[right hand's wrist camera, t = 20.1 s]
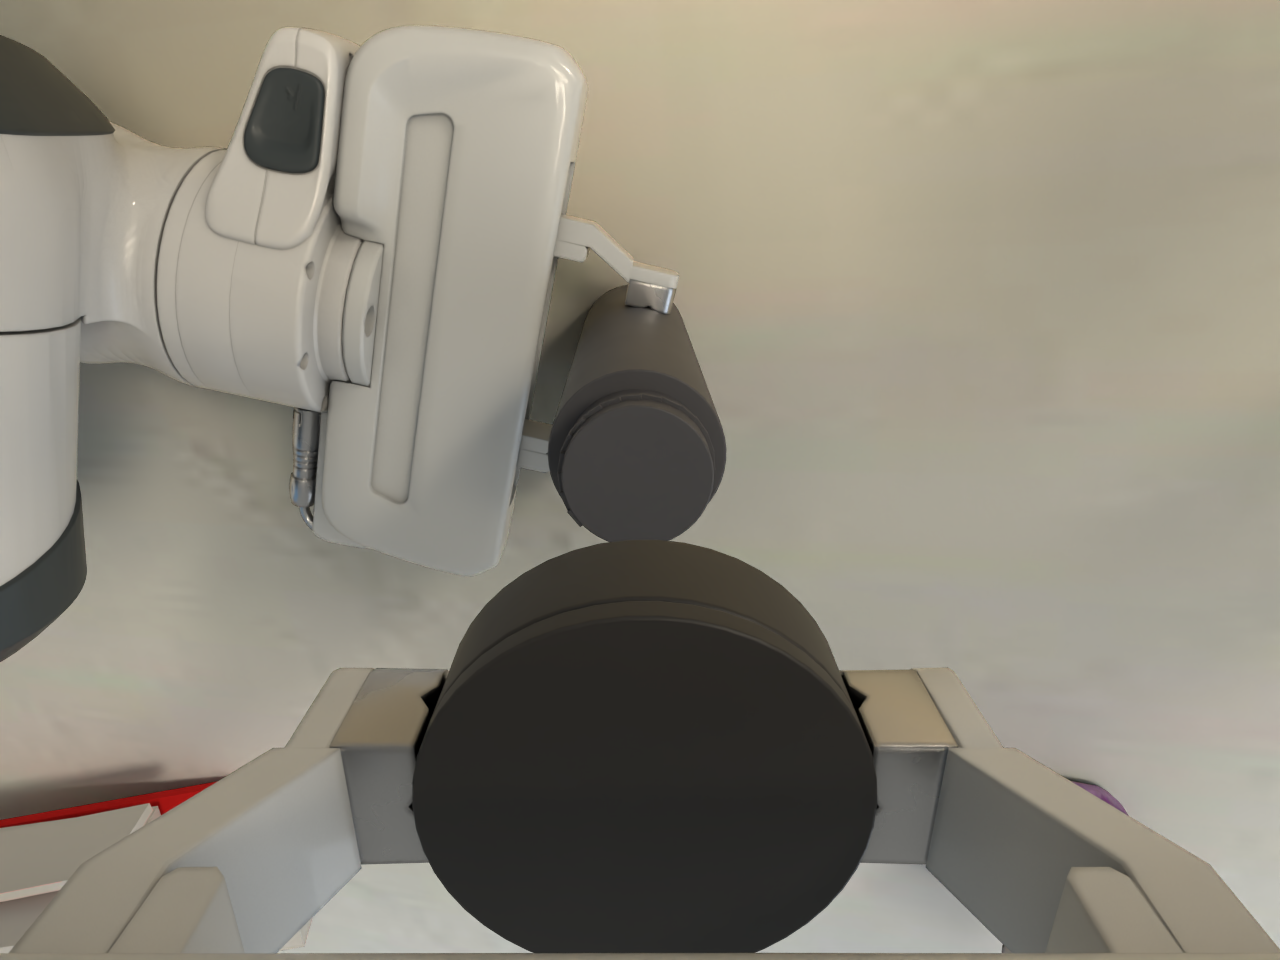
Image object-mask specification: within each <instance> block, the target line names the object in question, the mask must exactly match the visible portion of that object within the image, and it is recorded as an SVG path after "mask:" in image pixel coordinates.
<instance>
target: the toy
mask: <svg viewBox="0 0 1280 960" xmlns="http://www.w3.org/2000/svg"><path fill="white" fill-rule="evenodd" d="M217 782H218V781H217ZM214 783H216V782H211V783H206V784H200V785H195V786H189V787H183V788H178V789H172V790H166V791H161V792H155V793H150V794H144V795H138V796H133V797H127V798H122V799H116V800H110V801H105V802H99V803H93V804H88V805H82V806H77V807H71V808H65V809H60V810H54V811H49V812H43V813H37V814H32V815H26V816H21V817H15V818H9V819H4V820H0V953H9V952H10V951H11V949H12V948H13V947H14V946H15V944H16V943H17V942H18V941H19V940H20V938H21V937H22V936H23V935H24V933H25V932H26V931H27V930H28V929H29V927H30V926H31V925H32V924H33V922H34V921H35V920H36V919H37V917H38V916H39V915H40V914H41V913H42V911H43V910H44V909H45V908H46V906H47V905H48V904H49V903H50V902H51V900H52V899H53V898H54V897H55V895H56V894H57V893H58V892H59V891H60V889H61V888H62V887H63V886H64V884H65V883H66V882H67V881H68V879H69V878H70V877H71V876H72V875H73V873H74V872H75V871H76V870H77V868H78V867H79V866H80V865H81V864H82V863H83V862H85V861H86V860H88V859H90V858H91V857H93V856H95V855H96V854H98V853H100V852H101V851H103V850H105V849H106V848H108V847H110V846H111V845H113V844H115V843H116V842H118V841H120V840H121V839H123V838H125V837H126V836H128V835H130V834H131V833H133V832H135V831H136V830H138V829H140V828H141V827H143V826H145V825H146V824H148V823H149V822H151V821H153V820H154V819H156V818H158V817H159V816H161V815H163V814H164V813H166V812H168V811H169V810H171V809H173V808H174V807H176V806H178V805H179V804H181V803H183V802H184V801H186V800H188V799H189V798H191V797H193V796H194V795H196V794H198V793H199V792H201V791H203V790H204V789H206V788H208V787H209V786H211V785H213V784H214ZM311 921H312V918H311V919H310V920H309V921H308V922H307V923H306V924H305V925H304V926H303V927H302V928H301V929H300V930H299V931H298V932H297V933H296V934H295V935H294V936H293V937H292V938H291V939H290V940H289V941H288V942H287V943H286V944H285V945H284V946H283V947H282V948H281V949H280V950H279V951H281V950H287V949H293V948H299V947H304V946H305V942H306V939H307V935H308V932H309V928H310V925H311Z"/></svg>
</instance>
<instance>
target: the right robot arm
mask: <svg viewBox="0 0 1280 960" xmlns="http://www.w3.org/2000/svg"><path fill="white" fill-rule="evenodd" d="M839 672H840V674H841V677H842V679H843V682H844V684H845V687H846V689H847V692H848V694H849V697H850V699H851V702H852V704H853V707H854V709H855V712H856V714H857V717H858V719H859V722H860V724H861V727H862V729H863V732H864V734H865V737H866V740H867V742H868V745H869V747H870V750H871V752H872V756H873V761H874V766H875V771H876V776H877V798H878V801H877V808H876V816H875V823H874V828H873V831H872V834H871V837H870V840H869V844H868V847H867V849H866V851H865V853H864V855H863V857H862V859H861V861H860V863H895V864H926V868H927V869H928V870H929V871H930V872H931V873H932V874H933V875H934V876H935V877H936V878H937V879H938V880H939V881H940V882H941V883H942V884H943V885H944V886H945V887H946V888H947V889H948V890H949V891H950V892H951V893H952V894H953V895H954V896H955V897H956V898H957V899H958V900H959V901H960V902H961V903H962V904H963V905H964V906H965V907H966V908H967V909H968V910H969V911H970V912H971V913H972V914H973V915H974V916H975V917H976V918H977V919H978V920H979V921H980V922H981V923H982V924H983V925H984V926H985V927H986V928H987V929H988V930H989V931H990V932H991V933H992V934H993V935H994V936H995V937H996V938H997V939H998V940H999V941H1000V942H1001V943H1002V944H1003V945H1004V946H1005V947H1006V948H1007V949H1008V950H1009V951H1010V952H1012V953H277V952H278V951H279V950H280V949H281V948H282V947H283V946H284V945H285V944H286V943H287V942H288V941H289V940H290V939H291V938H292V937H293V936H294V935H295V934H296V933H297V932H298V931H299V930H300V929H301V928H302V927H303V926H304V925H305V924H306V923H307V922H308V921H309V920H310V919H311V918H312V917H313V916H314V915H315V914H316V913H317V912H318V911H319V910H320V909H321V908H322V907H323V906H324V905H325V904H326V903H327V902H328V901H329V900H330V899H331V898H332V897H333V896H334V895H335V894H336V893H337V892H338V891H339V890H340V889H341V888H342V887H343V886H344V885H345V884H346V883H347V882H348V881H349V880H350V879H351V878H352V877H353V876H354V875H355V874H356V873H357V872H358V871H359V870H360V869H361V864H392V863H426V862H429V861H428V859H427V857H426V855H425V853H424V852H423V849H422V846H421V843H420V840H419V837H418V834H417V831H416V826H415V820H414V813H413V807H412V780H413V775H414V769H415V764H416V759H417V755H418V752H419V750H420V747H421V744H422V742H423V739H424V736H425V733H426V731H427V728H428V726H429V723H430V720H431V718H432V715H433V713H434V710H435V707H436V705H437V702H438V699H439V697H440V694H441V692H442V689H443V686H444V684H445V681H446V678H447V676H448V673H449V671H448V670H443V669H396V668H376V669H373V668H339V669H337V670H335V671H333V672H332V673H331V674H330V676H329V678H328V679H327V681H326V682H325V684H324V686H323V687H322V689H321V690H320V692H319V694H318V695H317V697H316V698H315V700H314V702H313V703H312V705H311V706H310V708H309V710H308V711H307V713H306V714H305V716H304V718H303V719H302V721H301V722H300V724H299V725H298V727H297V729H296V730H295V732H294V733H293V735H292V737H291V738H290V740H289V741H288V743H287V745H286V746H285V748H272V749H271V750H269V751H267V752H266V753H264V754H262V755H261V756H259V757H257V758H256V759H254V760H252V761H251V762H249V763H247V764H246V765H244V766H242V767H241V768H239V769H237V770H236V771H234V772H232V773H231V774H229V775H227V776H226V777H224V778H222V779H221V780H219V781H218V782H216V783H214V784H213V785H211V786H209V787H208V788H206V789H204V790H203V791H201V792H199V793H198V794H196V795H194V796H193V797H191V798H189V799H188V800H186V801H184V802H183V803H181V804H179V805H178V806H176V807H174V808H173V809H171V810H169V811H168V812H166V813H164V814H163V815H161V816H159V817H158V818H156V819H154V820H153V821H151V822H149V823H148V824H146V825H145V826H143V827H141V828H140V829H138V830H136V831H135V832H133V833H131V834H130V835H128V836H126V837H125V838H123V839H121V840H120V841H118V842H116V843H115V844H113V845H111V846H110V847H108V848H106V849H105V850H103V851H101V852H100V853H98V854H96V855H95V856H93V857H91V858H90V859H88V860H86V861H85V862H83V863H82V864H81V865H80V866H79V867H78V868H77V870H76V871H75V872H74V873H73V875H72V876H71V877H70V878H69V879H68V881H67V882H66V883H65V884H64V886H63V887H62V888H61V889H60V891H59V892H58V893H57V894H56V895H55V897H54V898H53V899H52V900H51V902H50V903H49V904H48V905H47V906H46V908H45V909H44V910H43V911H42V913H41V914H40V915H39V916H38V917H37V919H36V920H35V921H34V922H33V924H32V925H31V926H30V927H29V929H28V930H27V931H26V932H25V933H24V935H23V936H22V937H21V938H20V940H19V941H18V942H17V943H16V944H15V946H14V947H13V948H12V949H11V951H10V952H9V953H0V960H1280V949H1279V948H1278V947H1277V945H1276V944H1275V943H1274V942H1273V940H1272V939H1271V938H1270V937H1269V936H1268V934H1267V933H1266V932H1265V931H1264V930H1263V928H1262V927H1261V926H1260V925H1259V924H1258V922H1257V921H1256V920H1255V919H1254V917H1253V916H1252V915H1251V914H1250V913H1249V911H1248V910H1247V909H1246V908H1245V907H1244V905H1243V904H1242V903H1241V902H1240V900H1239V899H1238V898H1237V897H1236V896H1235V894H1234V893H1233V892H1232V891H1231V890H1230V888H1229V887H1228V886H1227V885H1226V883H1225V882H1224V881H1223V880H1222V879H1221V877H1220V876H1219V875H1218V874H1217V873H1216V871H1215V870H1214V869H1213V868H1212V867H1211V865H1210V864H1208V863H1206V862H1205V861H1203V860H1201V859H1200V858H1198V857H1196V856H1195V855H1193V854H1191V853H1190V852H1188V851H1186V850H1185V849H1183V848H1181V847H1180V846H1178V845H1176V844H1175V843H1173V842H1171V841H1170V840H1168V839H1166V838H1165V837H1163V836H1161V835H1160V834H1158V833H1156V832H1155V831H1153V830H1151V829H1150V828H1148V827H1146V826H1145V825H1143V824H1141V823H1140V822H1138V821H1136V820H1135V819H1133V818H1131V817H1130V816H1128V815H1126V814H1124V813H1123V812H1121V811H1119V810H1118V809H1116V808H1114V807H1113V806H1111V805H1109V804H1108V803H1106V802H1104V801H1103V800H1101V799H1099V798H1098V797H1096V796H1094V795H1093V794H1091V793H1089V792H1088V791H1086V790H1084V789H1083V788H1081V787H1079V786H1078V785H1076V784H1074V783H1073V782H1071V781H1069V780H1068V779H1066V778H1064V777H1063V776H1061V775H1059V774H1058V773H1056V772H1054V771H1053V770H1051V769H1049V768H1048V767H1046V766H1044V765H1043V764H1041V763H1039V762H1038V761H1036V760H1034V759H1033V758H1031V757H1029V756H1028V755H1026V754H1024V753H1023V752H1021V751H1019V750H1018V749H1016V748H1003V746H1002V745H1001V743H1000V741H999V740H998V738H997V737H996V735H995V734H994V732H993V731H992V729H991V728H990V726H989V725H988V723H987V721H986V720H985V718H984V717H983V715H982V714H981V712H980V711H979V709H978V708H977V706H976V704H975V703H974V701H973V700H972V698H971V697H970V695H969V694H968V692H967V691H966V689H965V687H964V686H963V684H962V683H961V681H960V680H959V678H958V677H957V675H956V674H955V672H954V671H953V670H951V669H949V668H948V667H947V668H915V669H911V670H839Z"/></svg>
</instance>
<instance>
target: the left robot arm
mask: <svg viewBox="0 0 1280 960" xmlns="http://www.w3.org/2000/svg"><path fill="white" fill-rule="evenodd" d="M587 95H588V84H587V81H586V78H585V76H584V74H583V72H582V70H581V68H580V66H579V65H578V63H577V62H576V61H575V59H574V58H573V57H572V56H571V54H570V53H569V52H568V51H567V50H565V49H564V48H562V47H560V46H558V45H554V44H551V43H547V42H543V41H540V40H536V39H531V38H526V37H521V36H516V35H510V34H504V33H498V32H491V31H485V30H476V29H468V28H458V27H445V26H429V25H407V26H398V27H393V28H389V29H386V30H383V31H381V32H379V33H377V34H375V35H373V36H372V37H370V38H369V39H367V40H366V41H365V42H364V43H363V44H362V45H361V46H359V45H357V44H356V43H354V42H351V41H349V40H347V39H344V38H342V37H339V36H337V35H334V34H331V33H327V32H324V31H319V30H315V29H309V28H300V27H283V28H280V29H278V30H277V31H275V32H274V33H273V35H272V36H271V37H270V39H269V41H268V42H267V44H266V47H265V49H264V52H263V54H262V57H261V59H260V62H259V65H258V68H257V71H256V74H255V77H254V79H253V82H252V85H251V88H250V91H249V94H248V96H247V99H246V102H245V105H244V107H243V110H242V113H241V115H240V118H239V121H238V123H237V126H236V128H235V131H234V134H233V136H232V139H231V141H230V143H229V146H228V148H227V149H225V148H218V147H197V148H172V147H167V146H162V145H159V144H156V143H153V142H150V141H148V140H146V139H144V138H142V137H140V136H138V135H136V134H135V133H133V132H131V131H129V130H127V129H125V128H123V127H121V126H119V125H116V124H114V123H111V122H109V121H108V119H107V118H106V117H105V116H104V115H103V113H102V112H101V111H100V110H99V109H98V108H97V107H96V106H95V104H94V103H93V102H92V101H91V100H90V99H89V98H88V97H87V96H86V95H85V94H83V93H82V92H81V91H80V90H79V89H78V88H77V87H76V86H75V85H74V84H73V83H72V82H71V81H70V80H69V79H68V78H66V77H65V76H64V75H63V74H62V73H61V72H60V71H59V70H58V69H57V68H55V67H54V66H53V65H52V64H51V63H50V62H49V61H48V60H47V59H46V58H45V57H44V56H42V55H41V54H39V53H37V52H36V51H34V50H33V49H31V48H29V47H27V46H25V45H23V44H21V43H18V42H16V41H14V40H12V39H9V38H6V37H4V36H1V35H0V662H1V661H3V660H5V659H6V658H8V657H9V656H11V655H12V654H14V653H16V652H17V651H18V650H20V649H21V648H22V647H24V646H25V645H26V644H27V643H29V642H30V641H31V640H33V639H34V638H35V637H37V636H38V635H39V634H40V633H41V632H42V631H43V630H44V629H45V628H47V627H48V626H49V625H50V624H51V623H52V622H54V621H55V620H56V619H57V618H58V617H59V616H60V615H61V614H62V613H63V612H64V611H65V610H66V609H67V608H68V607H69V606H70V605H71V604H72V603H73V601H74V600H75V599H76V598H77V596H78V595H79V593H80V591H81V590H82V588H83V585H84V583H85V580H86V574H87V566H86V553H85V541H84V528H83V514H82V500H81V491H80V486H79V482H78V480H77V445H78V407H79V368H80V362H82V363H89V364H99V363H116V362H126V363H135V364H140V365H144V366H147V367H150V368H153V369H155V370H157V371H159V372H161V373H163V374H165V375H166V376H168V377H170V378H172V379H175V380H177V381H179V382H182V383H185V384H188V385H191V386H195V387H201V388H205V389H210V390H215V391H220V392H225V393H229V394H234V395H239V396H244V397H249V398H254V399H258V400H263V401H267V402H272V403H277V404H282V405H287V406H291V407H294V412H293V434H292V445H293V458H294V459H293V472H292V473H291V476H290V483H289V493H290V499H291V503H292V504H293V505H295V506H297V507H299V511H300V514H301V516H302V518H303V520H304V522H305V523H306V525H307V526H308V527H309V528H310V529H311V530H312V531H313V533H314V534H315V536H317V537H318V538H320V539H322V540H325V541H327V542H331V543H336V544H341V545H346V546H351V547H357V548H370V549H373V550H376V551H378V552H381V553H384V554H387V555H390V556H393V557H395V558H398V559H401V560H404V561H408V562H411V563H414V564H417V565H421V566H424V567H428V568H431V569H435V570H439V571H443V572H447V573H450V574H455V575H460V576H467V577H471V576H476V575H478V574H481V573H483V572H485V571H488V570H490V569H492V568H494V567H496V566H497V565H498V563H499V561H500V559H501V556H502V554H503V551H504V549H505V545H506V542H507V539H508V535H509V530H510V525H511V519H512V513H513V508H514V502H515V497H516V491H517V486H518V480H519V474H520V469H521V468H524V469H528V470H533V471H538V472H543V473H546V472H550V469H549V464H548V442H549V438H550V433H551V429H552V426H553V425H551V424H546V423H542V422H537V421H533V420H529V419H530V413H531V408H532V402H533V396H534V391H535V385H536V380H537V374H538V369H539V363H540V357H541V352H542V346H543V341H544V335H545V330H546V324H547V318H548V313H549V307H550V302H551V296H552V291H553V285H554V279H555V274H556V268H557V263H558V257H559V258H564V259H568V260H573V261H577V262H583V261H585V260H586V258H587V257H588V255H589V250H590V248H591V249H592V250H593V251H594V252H595V253H596V254H597V255H598V256H599V257H601V258H602V259H603V260H604V261H605V262H606V263H607V264H608V265H609V266H610V267H611V268H613V269H614V270H615V271H616V272H617V273H618V274H619V275H620V276H621V277H622V278H624V279H625V280H626V281H627V282H629V283H628V288H627V293H626V298H625V305H629V306H633V307H637V308H645V307H647V306H649V307H650V308H651V309H652V310H654V311H656V312H659V313H665V314H670V311H671V308H672V304H673V300H674V296H675V292H676V287H677V283H678V279H679V274H678V272H675V271H673V270H670V269H666V268H661V267H657V266H653V265H649V264H644V263H640V262H636V261H633V257H632V256H631V255H630V254H629V253H628V252H627V251H626V250H625V249H624V248H623V247H622V246H621V245H620V244H619V243H618V242H616V241H615V240H614V239H613V238H612V237H611V236H610V235H609V234H608V233H607V232H606V231H605V230H604V229H603V228H602V227H601V226H600V225H599V224H598V223H596V222H595V221H591V220H587V219H582V218H578V217H574V216H570V215H566V213H567V207H568V201H569V196H570V190H571V185H572V179H573V174H574V168H575V162H576V157H577V151H578V146H579V140H580V135H581V129H582V124H583V118H584V112H585V107H586V101H587ZM313 505H314V513H313V515H312V513H311V511H310V508H309V507H310V506H313Z"/></svg>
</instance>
